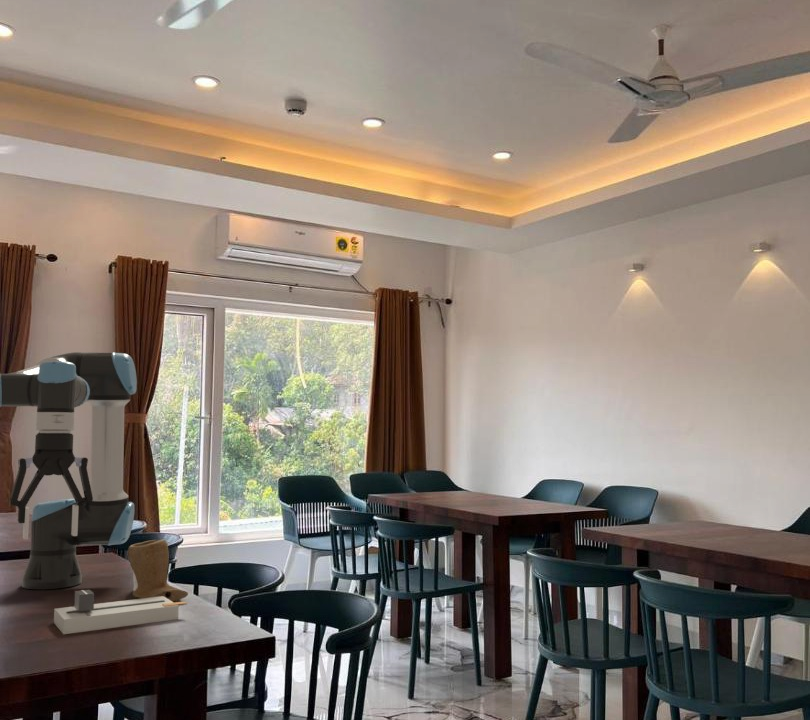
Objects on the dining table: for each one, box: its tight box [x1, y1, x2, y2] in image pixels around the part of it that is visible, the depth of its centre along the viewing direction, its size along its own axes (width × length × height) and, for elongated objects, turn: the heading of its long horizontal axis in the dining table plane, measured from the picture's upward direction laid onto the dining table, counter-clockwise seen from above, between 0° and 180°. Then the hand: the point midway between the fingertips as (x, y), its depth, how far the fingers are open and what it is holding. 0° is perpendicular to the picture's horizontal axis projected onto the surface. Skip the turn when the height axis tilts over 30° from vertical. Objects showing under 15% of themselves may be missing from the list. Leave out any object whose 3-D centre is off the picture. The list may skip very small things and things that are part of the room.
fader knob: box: [74, 589, 95, 612], centre depth 168 cm, size 5×3×4 cm, turn 34°
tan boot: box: [127, 538, 189, 603], centre depth 193 cm, size 15×12×15 cm
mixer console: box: [53, 596, 187, 635], centre depth 172 cm, size 12×26×3 cm, turn 124°
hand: (50, 536), depth 165 cm, fingers open, 9 cm apart
